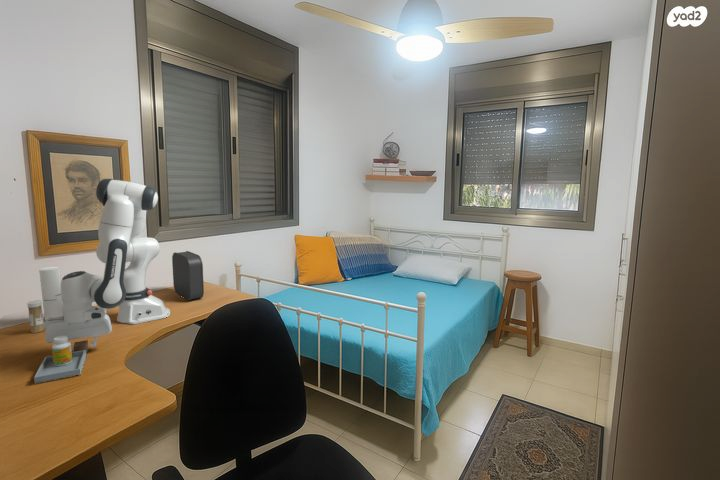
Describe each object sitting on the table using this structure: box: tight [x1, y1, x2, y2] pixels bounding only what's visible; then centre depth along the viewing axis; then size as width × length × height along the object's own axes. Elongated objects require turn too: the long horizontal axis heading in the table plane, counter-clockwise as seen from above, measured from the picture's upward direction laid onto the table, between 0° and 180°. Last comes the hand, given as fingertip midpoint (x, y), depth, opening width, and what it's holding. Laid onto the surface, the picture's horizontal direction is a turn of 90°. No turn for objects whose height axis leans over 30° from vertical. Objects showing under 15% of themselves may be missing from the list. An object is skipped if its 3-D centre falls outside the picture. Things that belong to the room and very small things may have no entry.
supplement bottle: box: [51, 335, 73, 366], centre depth 132 cm, size 5×5×10 cm
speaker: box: [171, 250, 205, 301], centre depth 211 cm, size 25×9×25 cm, turn 46°
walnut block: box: [72, 340, 89, 355], centre depth 142 cm, size 4×4×4 cm
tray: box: [33, 350, 88, 384], centre depth 130 cm, size 12×16×2 cm
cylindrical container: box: [38, 266, 63, 321], centre depth 170 cm, size 7×7×25 cm
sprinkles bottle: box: [27, 299, 45, 334], centre depth 159 cm, size 5×5×14 cm
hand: (81, 348), depth 142 cm, fingers open, 6 cm apart
